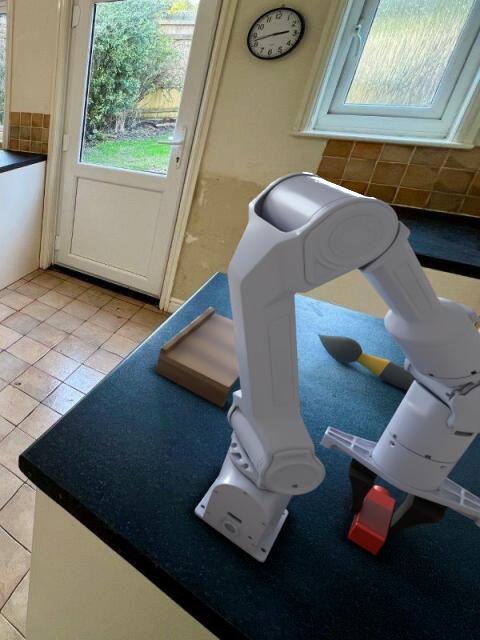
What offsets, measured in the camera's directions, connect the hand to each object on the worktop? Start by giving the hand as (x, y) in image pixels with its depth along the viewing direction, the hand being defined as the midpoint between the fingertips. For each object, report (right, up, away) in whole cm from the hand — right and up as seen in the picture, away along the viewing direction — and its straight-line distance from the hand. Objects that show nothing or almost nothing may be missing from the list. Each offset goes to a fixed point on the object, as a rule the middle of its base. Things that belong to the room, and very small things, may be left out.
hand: (372, 518), depth 52 cm
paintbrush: (+26, +11, +26) cm, 38 cm away
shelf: (-3, +12, +29) cm, 32 cm away
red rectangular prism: (0, -1, +1) cm, 1 cm away
